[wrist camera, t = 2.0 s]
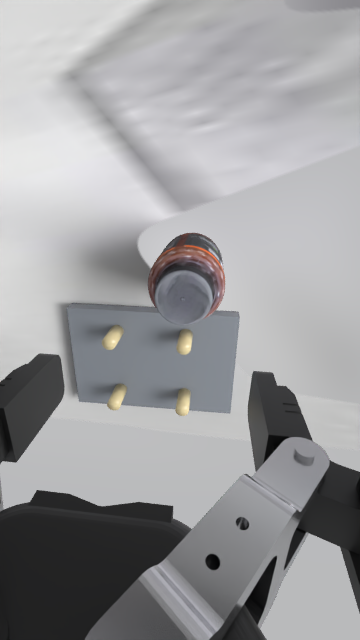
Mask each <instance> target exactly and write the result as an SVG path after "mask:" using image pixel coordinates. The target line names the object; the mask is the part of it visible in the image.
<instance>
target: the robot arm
mask: <svg viewBox="0 0 360 640" xmlns="http://www.w3.org/2000/svg"><path fill="white" fill-rule="evenodd" d="M63 395H64V380H63V372H62V365H61V359H60V357H59V355H53V354H38V355H37V356H36V357H35V358H34V359H33V360H32V361H31V362H29V363H28V364H25V365H23V366H21V367H19V368H17V369H15V370H13V371H12V372H11V373H10V374H9V375H8V376H7V377H6V378H5V379H3V380H2V381H1V382H0V463H1V462H2V461H8V462H17V461H18V460H19V458H20V457H21V455H22V454H23V453H24V451H25V450H26V449H27V447H28V446H29V444H30V443H31V442H32V440H33V439H34V438H35V436H36V435H37V433H38V432H39V430H40V429H41V428H42V426H43V425H44V424H45V422H46V421H47V420H48V418H49V417H50V416H51V414H52V413H53V411H54V410H55V409H56V407H57V406H58V405H59V403H60V402H61V400H62V398H63ZM248 422H249V429H250V435H251V442H252V449H253V456H254V462H255V469H256V473H255V474H254V475H253V476H252V477H250V476H248V475H247V474H244V475H242V476H241V477H240V478H239V479H238V480H237V481H236V482H235V483H234V484H233V485H232V486H231V487H230V488H229V489H228V491H227V492H226V493H225V494H224V495H223V496H222V497H221V498H220V500H218V502H217V503H216V504H215V505H214V506H213V507H212V508H211V509H210V510H209V511H208V513H206V515H205V516H204V517H203V518H202V519H201V520H200V521H199V522H198V523H197V525H196V526H195V527H194V528H193V529H191V528H189V527H188V526H187V525H185V524H183V523H182V522H180V521H178V520H175V519H173V506H168V505H159V504H150V503H142V502H136V503H128V504H120V505H112V506H103V507H102V506H97V505H95V504H92V503H90V502H88V501H85V500H83V499H80V498H78V497H76V496H73V495H71V494H65V493H57V492H48V491H39V490H37V491H36V493H35V495H34V497H33V498H32V500H31V501H30V502H28V503H24V504H19V505H15V506H12V507H9V508H7V509H5V510H3V501H2V491H1V481H0V640H266V638H265V637H264V635H263V634H262V632H261V630H260V628H261V626H262V624H263V622H264V620H265V618H266V616H267V615H268V613H269V611H270V609H271V607H272V605H273V602H274V600H275V598H276V595H277V593H278V590H279V588H280V586H281V583H282V581H283V579H284V577H285V575H286V574H287V572H288V570H289V568H290V566H291V565H292V563H293V561H294V559H295V557H296V556H297V554H298V552H299V550H300V548H301V547H302V545H303V543H304V541H305V539H306V537H307V536H308V534H309V533H310V534H312V535H315V536H317V537H319V538H322V539H324V540H326V541H329V542H331V543H333V544H336V545H338V546H340V548H341V551H342V554H343V558H344V561H345V565H346V568H347V571H348V575H349V578H350V582H351V585H352V589H353V592H354V595H355V599H356V602H357V606H358V609H359V612H360V472H358V471H355V470H352V469H349V468H346V467H343V466H341V465H338V464H336V463H334V462H332V461H330V460H329V457H328V455H327V453H326V452H325V450H323V448H322V447H321V446H319V445H318V444H316V443H315V442H313V441H312V438H311V435H310V433H309V430H308V428H307V425H306V423H305V420H304V417H303V415H302V414H301V410H300V407H299V406H298V402H297V399H296V397H295V395H294V394H293V393H292V392H291V391H290V390H289V389H288V388H287V387H286V386H277V384H276V381H275V378H274V375H273V373H271V372H259V371H258V372H257V371H254V372H253V374H252V381H251V388H250V395H249V402H248Z"/></svg>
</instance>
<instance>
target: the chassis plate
mask: <svg viewBox="0 0 360 640" xmlns="http://www.w3.org/2000/svg"><path fill="white" fill-rule="evenodd" d="M67 315H68V322H69V330H70V338H71V345H72V353H73V360H74V368H75V375H76V383H77V391H78V398H79V402H91V403H104V404H107V406H108V407H109V408H110V409H111V410H118V409H119V408H120V406H121V405H129V406H142V407H154V408H167V409H176V413H177V414H178V415H180V416H185V415H187V414H188V412H189V410H192V411H205V412H218V413H230V410H231V400H232V389H233V379H234V369H235V358H236V348H237V338H238V328H239V312H234V311H214V312H213V313H212V314H211V315H210V316H209V317H206V318H205V319H203V320H201V321H200V322H198V323H196V324H192V325H188V326H181V325H176V324H173V323H171V322H169V321H167V320H166V319H165V318H163V317H162V316H161V314H160V313H159V312H158V310H157V308H156V307H137V306H118V305H98V304H79V303H72V304H71V305H70V306H68V307H67Z"/></svg>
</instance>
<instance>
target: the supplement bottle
mask: <svg viewBox="0 0 360 640" xmlns="http://www.w3.org/2000/svg"><path fill="white" fill-rule="evenodd" d="M148 290H149V295H150V298H151V301H152V302H153V304H154V306H155V307H156V308H157V310H158V312H159V313H160V314H161V316H162V317H163V318H165V319H166V320H167V321H169V322H171V323H173V324H176V325H181V326H188V325H192V324H196V323H198V322H200V321H201V320H203V319H205V318H206V317H209V316H210V315H211V314H212V313H213V312H214V311H215V310H216V309H217V308H218V306H219V305H220V303H221V301H222V299H223V296H224V292H225V276H224V269H223V263H222V257H221V254H220V251H219V249H218V247H217V246H216V244H215V243H214V242H213V241H212V240H211V239H209V238H208V237H206V236H204V235H202V234H198V233H186V234H183V235H180V236H178V237H176V238H175V239H173V240H172V241H171V242H170V243H169V244H168V245H167V246H166V248H165V249H164V250H163V252H162V253H161V255H160V256H159V257H158V259H157V260H156V262H155V263H154V265H153V267H152V268H151V271H150V274H149V278H148Z"/></svg>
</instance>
